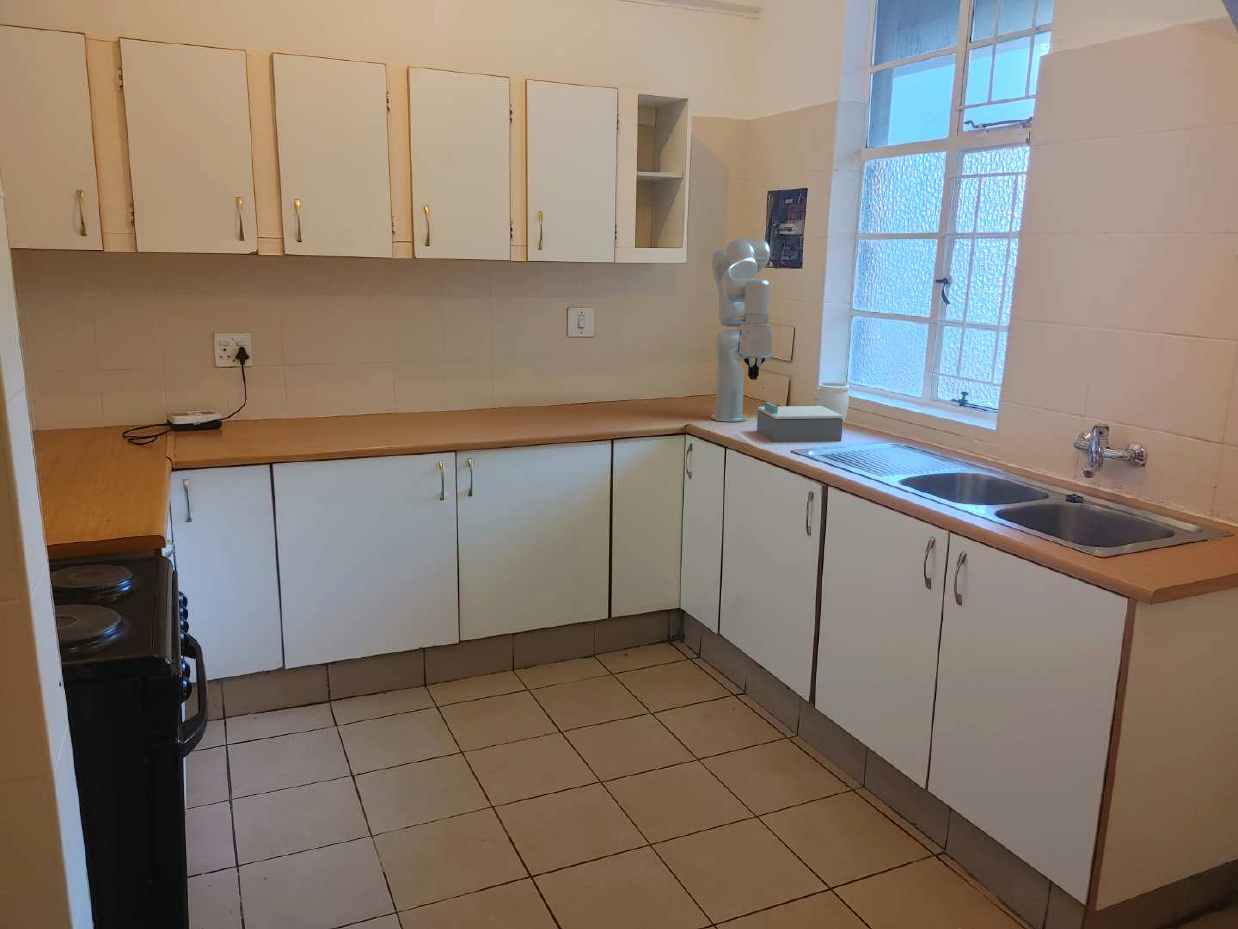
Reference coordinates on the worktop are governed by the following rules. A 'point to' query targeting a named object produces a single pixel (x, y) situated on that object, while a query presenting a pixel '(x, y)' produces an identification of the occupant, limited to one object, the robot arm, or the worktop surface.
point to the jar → (834, 397)
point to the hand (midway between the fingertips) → (753, 378)
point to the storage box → (799, 429)
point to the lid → (798, 412)
